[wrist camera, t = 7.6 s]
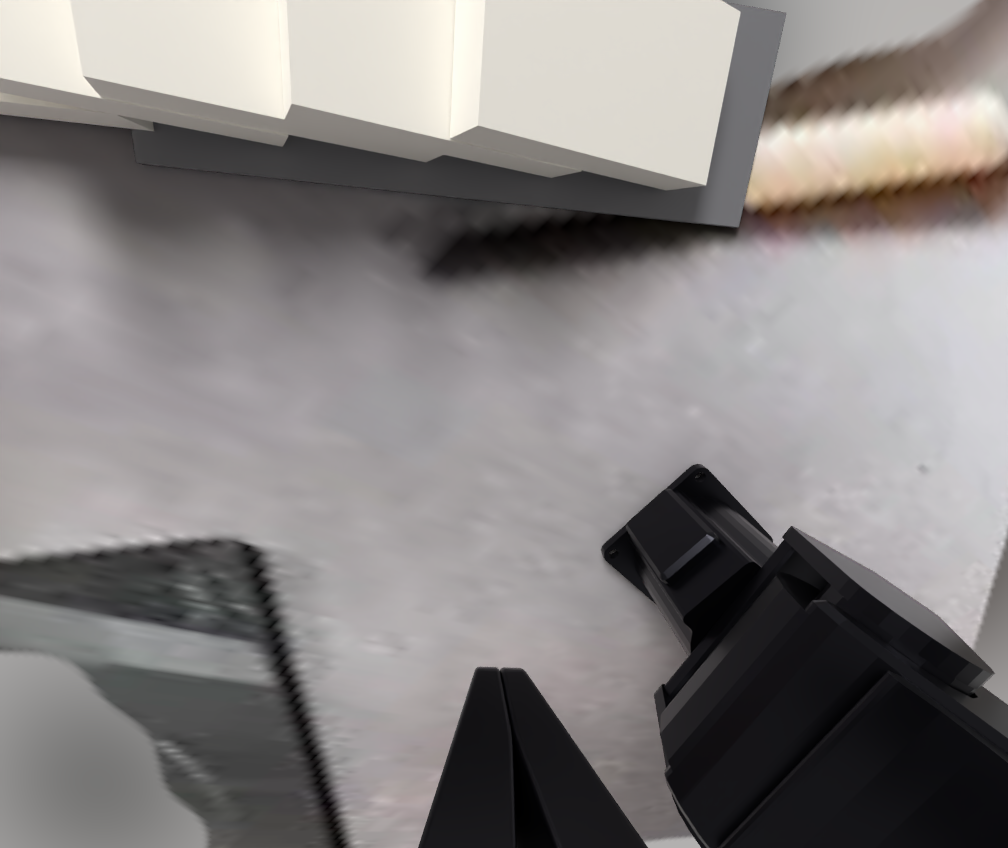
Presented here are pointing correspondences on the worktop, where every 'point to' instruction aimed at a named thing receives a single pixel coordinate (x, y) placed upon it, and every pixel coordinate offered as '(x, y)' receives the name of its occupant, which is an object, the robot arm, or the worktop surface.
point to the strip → (505, 185)
